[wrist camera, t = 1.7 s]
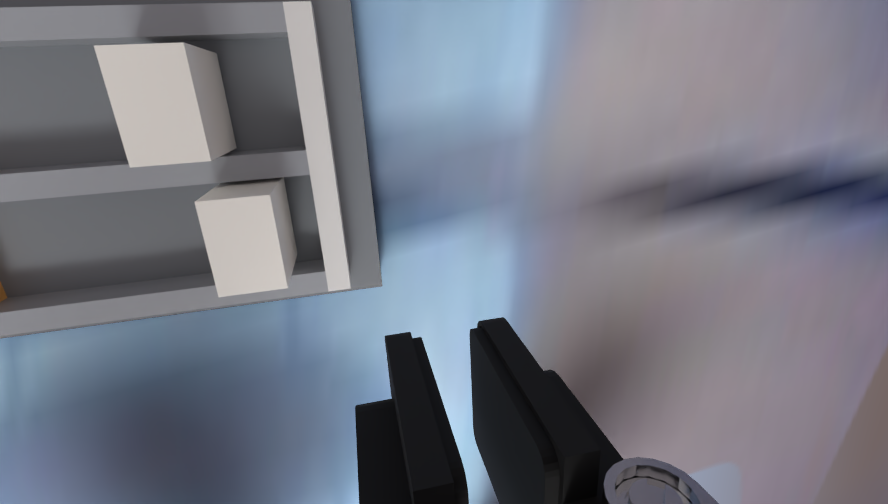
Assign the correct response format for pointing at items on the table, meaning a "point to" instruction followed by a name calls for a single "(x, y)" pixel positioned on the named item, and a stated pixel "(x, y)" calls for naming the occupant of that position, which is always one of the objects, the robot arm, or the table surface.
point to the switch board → (175, 185)
